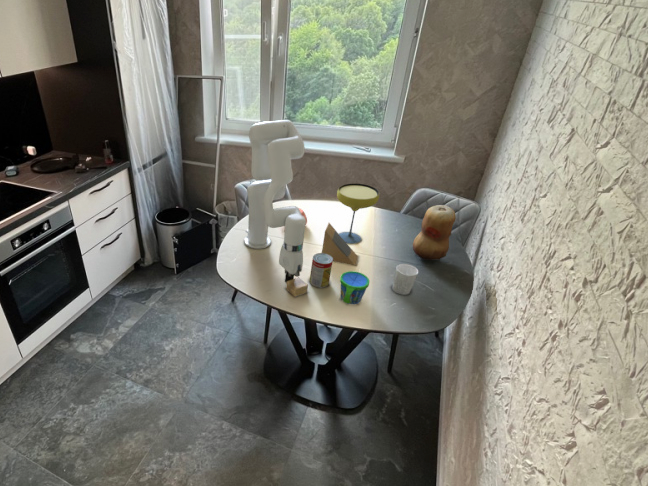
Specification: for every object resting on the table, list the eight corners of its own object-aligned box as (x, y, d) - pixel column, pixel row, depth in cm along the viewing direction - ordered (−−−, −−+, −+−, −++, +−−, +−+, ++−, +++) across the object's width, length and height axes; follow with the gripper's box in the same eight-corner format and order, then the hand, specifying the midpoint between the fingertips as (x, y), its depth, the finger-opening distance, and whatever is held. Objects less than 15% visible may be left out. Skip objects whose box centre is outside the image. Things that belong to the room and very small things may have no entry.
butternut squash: (405, 259, 179) (419, 208, 165) (415, 246, 187) (430, 197, 173) (438, 270, 171) (457, 218, 157) (448, 256, 179) (466, 206, 165)
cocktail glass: (371, 233, 199) (382, 186, 185) (365, 251, 186) (377, 202, 172) (334, 226, 206) (341, 181, 192) (326, 243, 193) (334, 195, 179)
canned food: (331, 279, 169) (335, 255, 162) (325, 289, 164) (329, 265, 157) (313, 274, 173) (316, 251, 166) (306, 284, 167) (310, 260, 161)
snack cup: (355, 315, 150) (360, 294, 144) (329, 304, 156) (333, 283, 150) (371, 294, 160) (376, 274, 154) (345, 285, 166) (349, 264, 160)
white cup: (402, 298, 157) (409, 277, 151) (386, 287, 163) (391, 267, 157) (416, 291, 160) (423, 271, 154) (399, 281, 166) (405, 261, 160)
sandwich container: (355, 266, 176) (362, 236, 168) (320, 259, 182) (325, 230, 174) (358, 256, 183) (364, 227, 174) (324, 249, 189) (328, 221, 180)
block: (286, 288, 165) (286, 281, 163) (297, 284, 167) (298, 277, 165) (294, 296, 161) (295, 289, 159) (306, 292, 163) (308, 284, 161)
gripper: (274, 238, 161) (271, 275, 172) (297, 256, 150) (292, 294, 160) (289, 234, 164) (285, 270, 174) (313, 251, 152) (307, 288, 163)
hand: (289, 281), depth 167 cm, fingers closed
